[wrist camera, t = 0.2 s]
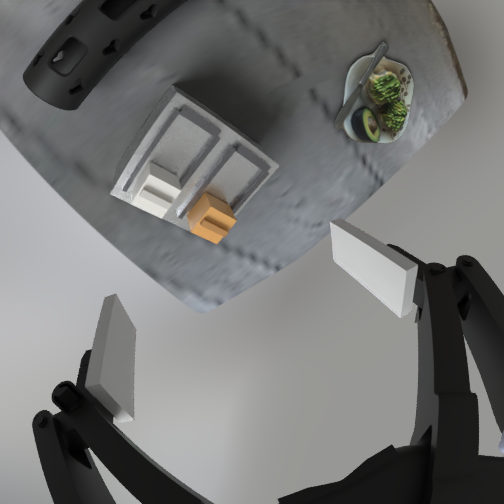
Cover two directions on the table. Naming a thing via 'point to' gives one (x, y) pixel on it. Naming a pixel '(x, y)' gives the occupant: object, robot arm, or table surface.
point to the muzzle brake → (90, 47)
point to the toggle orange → (211, 218)
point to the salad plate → (376, 99)
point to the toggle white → (155, 190)
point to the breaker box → (194, 156)
